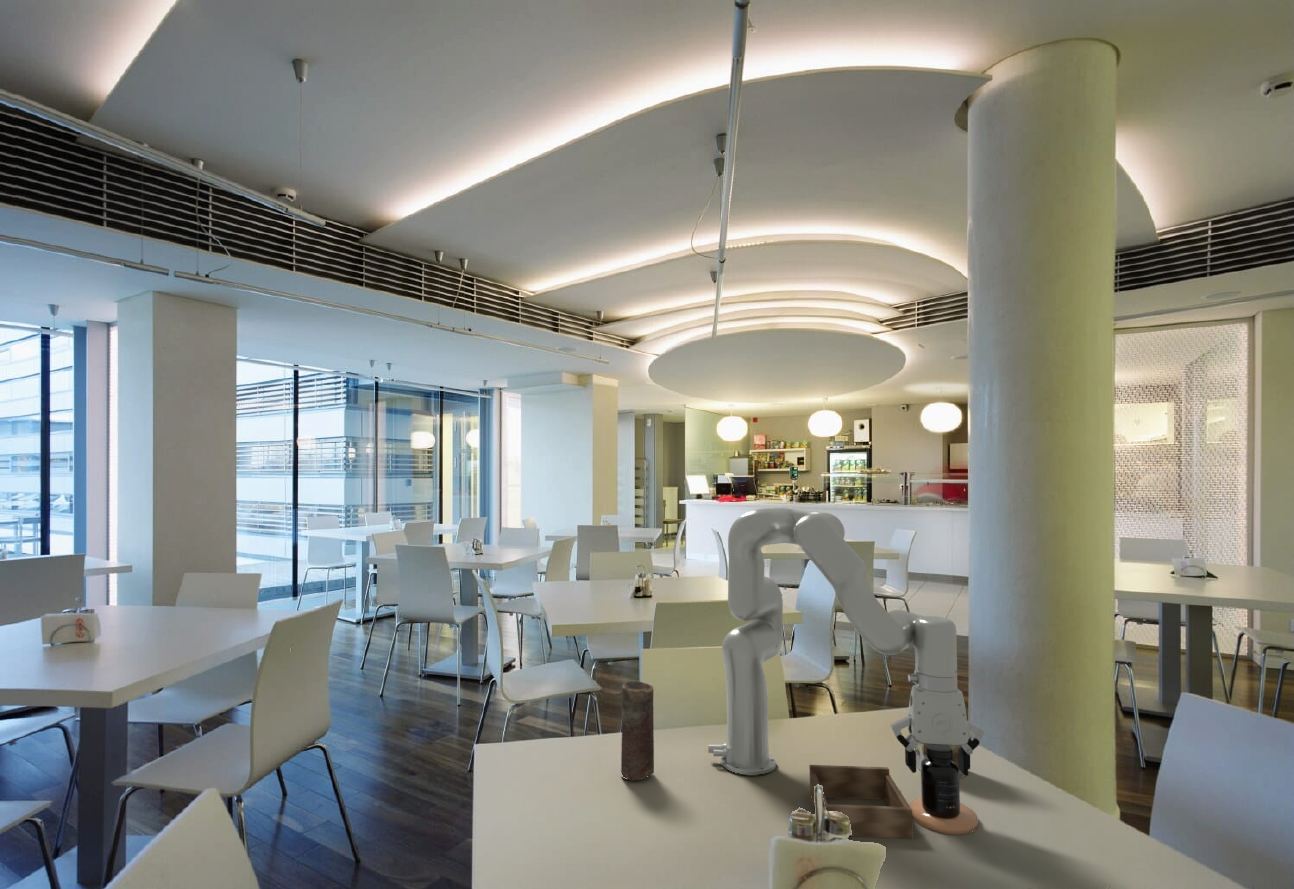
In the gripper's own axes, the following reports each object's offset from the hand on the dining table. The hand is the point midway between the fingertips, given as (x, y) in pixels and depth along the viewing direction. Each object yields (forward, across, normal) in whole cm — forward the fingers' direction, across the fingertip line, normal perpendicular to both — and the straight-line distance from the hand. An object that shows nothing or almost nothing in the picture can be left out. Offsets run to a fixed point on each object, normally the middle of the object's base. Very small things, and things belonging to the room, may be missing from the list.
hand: (937, 771), depth 125 cm
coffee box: (+9, +8, +22) cm, 25 cm away
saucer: (+9, +1, 0) cm, 9 cm away
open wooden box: (+9, -15, 0) cm, 18 cm away
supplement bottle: (+8, 0, 0) cm, 8 cm away
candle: (+10, -60, +14) cm, 63 cm away
